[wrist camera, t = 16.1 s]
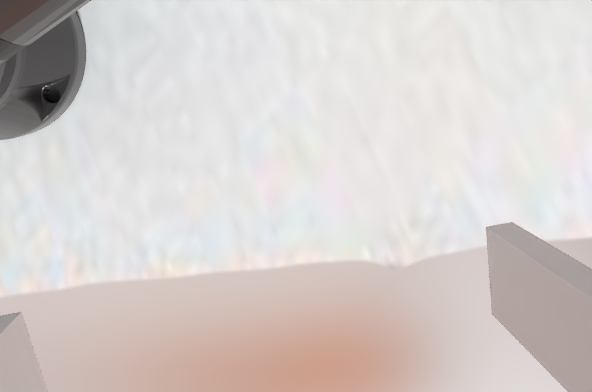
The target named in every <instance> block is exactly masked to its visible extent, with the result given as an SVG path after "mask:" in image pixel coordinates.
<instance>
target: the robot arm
mask: <svg viewBox="0 0 592 392" xmlns="http://www.w3.org/2000/svg"><path fill="white" fill-rule="evenodd" d="M89 1H91V0H0V140H5V139H11V138H16V137H19V136H23V135H26V134H30V133H33V132H35V131H38V130H40V129H42V128H44V127H46V126H47V125H49V124H51V123H52V122H53V121H55V120H56V119H57V118H58V117H60V116H61V115H62V114H63V113H64V112H65V110H66V109H67V108H68V107H69V106H70V104H71V103H72V101H73V100H74V98H75V96H76V94H77V92H78V90H79V88H80V85H81V82H82V79H83V75H84V70H85V62H86V48H85V39H84V34H83V30H82V26H81V23H80V20H79V18H78V15H77V13H76V11H77V10H78V9H80V8H81V7H82V6H84V5H85V4H87V3H88V2H89ZM486 235H487V249H488V264H489V278H490V292H491V307H492V314H493V316H495V318H496V319H497V320H498V321H499V322H500V323H501V324H502V325H503V326H504V327H505V328H506V329H507V330H508V331H509V332H510V333H511V334H512V335H513V336H514V337H515V338H516V339H517V340H518V341H519V342H520V343H521V344H522V345H523V346H524V347H525V348H526V349H527V350H528V351H529V352H530V353H531V354H532V356H533V357H534V358H535V359H536V360H537V361H538V362H539V363H540V364H541V365H542V366H543V367H544V368H545V369H546V370H547V371H548V372H549V373H550V374H551V375H552V376H553V377H554V378H555V379H556V380H557V381H558V382H559V383H560V384H561V385H562V386H563V387H564V388H565V389H566V390H567V391H568V392H592V269H591V268H589V267H587V266H586V265H584V264H582V263H581V262H579V261H577V260H575V259H574V258H572V257H570V256H569V255H567V254H565V253H563V252H562V251H560V250H558V249H557V248H555V247H553V246H552V245H550V244H548V243H547V242H545V241H543V240H541V239H540V238H538V237H536V236H535V235H533V234H531V233H530V232H528V231H526V230H524V229H523V228H521V227H519V226H518V225H516V224H514V223H513V222H511V223H505V224H500V225H494V226H489V227H486ZM0 392H48V390H47V388H46V384H45V381H44V378H43V375H42V372H41V369H40V366H39V363H38V360H37V357H36V354H35V352H34V348H33V345H32V343H31V339H30V336H29V333H28V330H27V328H26V325H25V321H24V319H23V315H22V312H19V313H13V314H8V315H3V316H0Z"/></svg>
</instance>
